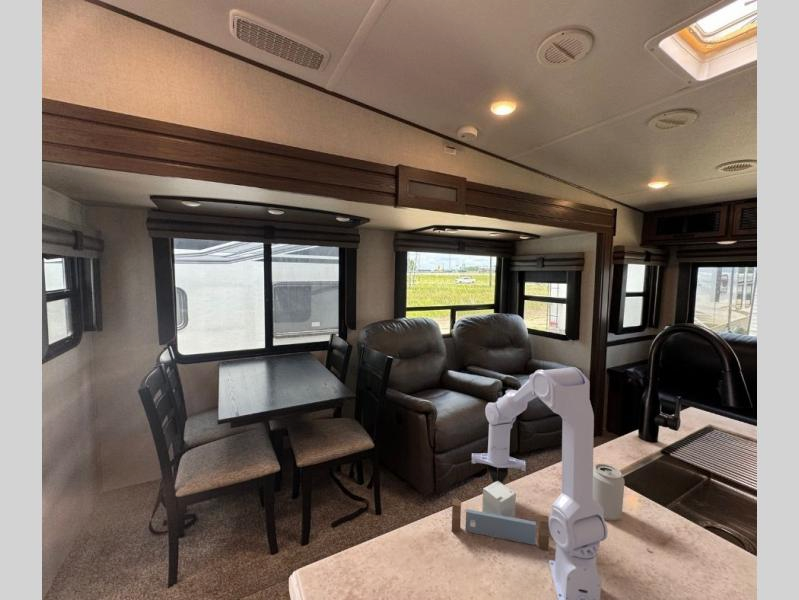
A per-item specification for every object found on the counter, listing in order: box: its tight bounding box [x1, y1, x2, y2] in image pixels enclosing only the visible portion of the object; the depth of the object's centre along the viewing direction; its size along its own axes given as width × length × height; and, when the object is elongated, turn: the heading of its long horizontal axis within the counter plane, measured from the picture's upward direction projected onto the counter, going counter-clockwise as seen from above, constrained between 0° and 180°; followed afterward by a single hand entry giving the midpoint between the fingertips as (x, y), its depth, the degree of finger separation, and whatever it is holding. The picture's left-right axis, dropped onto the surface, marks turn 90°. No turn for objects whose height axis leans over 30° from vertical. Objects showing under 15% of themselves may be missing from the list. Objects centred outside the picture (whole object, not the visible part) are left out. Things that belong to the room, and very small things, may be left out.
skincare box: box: [481, 481, 517, 518], centre depth 84 cm, size 6×6×7 cm
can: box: [593, 463, 626, 521], centre depth 86 cm, size 8×8×12 cm
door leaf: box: [464, 508, 537, 546], centre depth 76 cm, size 2×16×5 cm, turn 76°
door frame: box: [451, 498, 551, 552], centre depth 77 cm, size 2×22×7 cm, turn 76°
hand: (496, 489), depth 91 cm, fingers closed
